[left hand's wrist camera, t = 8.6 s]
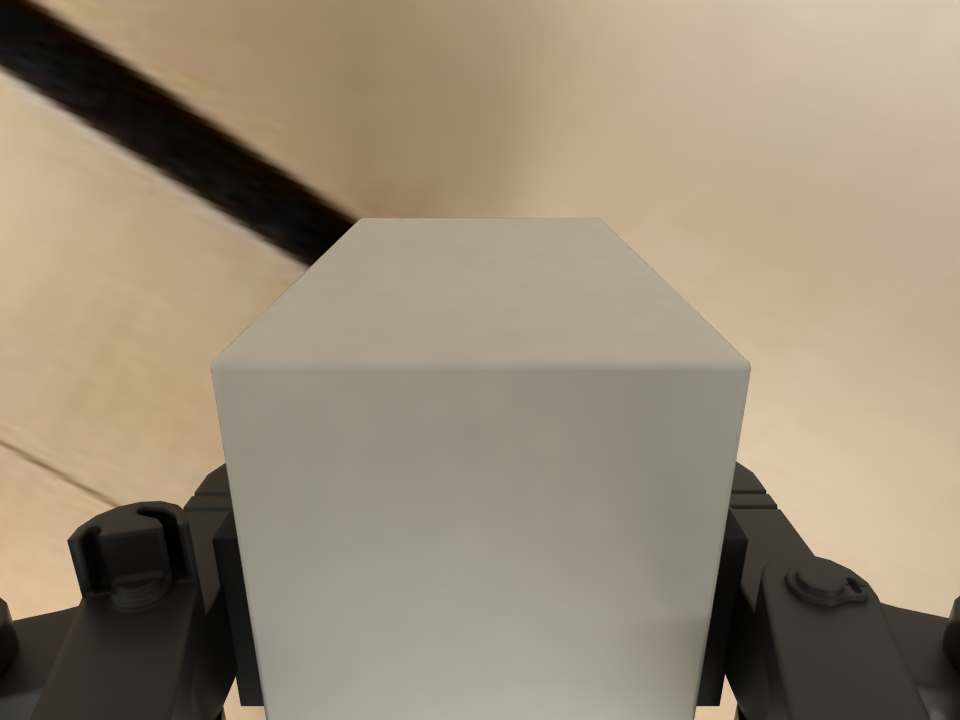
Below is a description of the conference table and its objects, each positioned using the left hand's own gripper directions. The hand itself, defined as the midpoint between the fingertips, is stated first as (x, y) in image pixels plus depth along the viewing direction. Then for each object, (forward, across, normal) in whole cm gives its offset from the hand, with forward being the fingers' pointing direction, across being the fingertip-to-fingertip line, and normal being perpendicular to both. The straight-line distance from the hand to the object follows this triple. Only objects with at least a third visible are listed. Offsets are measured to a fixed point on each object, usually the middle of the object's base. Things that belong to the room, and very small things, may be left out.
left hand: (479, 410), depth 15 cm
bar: (+1, 0, -31) cm, 31 cm away
